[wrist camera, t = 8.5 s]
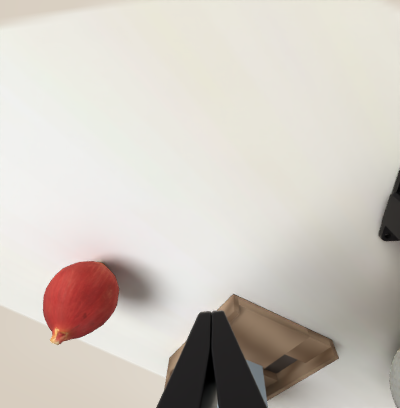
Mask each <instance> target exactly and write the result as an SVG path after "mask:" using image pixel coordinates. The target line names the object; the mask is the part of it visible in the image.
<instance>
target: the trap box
mask: <svg viewBox="0 0 400 408" xmlns="http://www.w3.org/2000/svg"><path fill="white" fill-rule="evenodd" d="M219 310H223V311H224V312H225V314H226V317H227V319H228V321H229V323H230V326H231V328H232V330H233V332H234V335H235V337H236V339H237V341H238V344H239V346H240V348H241V350H242V352H243V355H244V357H245V359H246V360H248V361H251V362H253V363H256V364H258V365H261V366H262V367H263V374H264V382H265V389H266V397H267V401H268V400H269V399H271V398H273V397H274V396H276V395H278V394H280V393H281V392H283V391H285V390H286V389H288V388H290V387H291V386H293V385H295V384H296V383H298V382H300V381H302V380H303V379H305V378H307V377H308V376H310V375H312V374H313V373H315V372H317V371H318V370H320V369H322V368H323V367H325V366H327V365H329V364H330V363H332V362H334V361H335V360H337V359H339V357H338V354H337V352H336V349H335V347H334V344H333V341H332V340H331V339H329V338H327V337H324V336H322V335H320V334H318V333H316V332H314V331H312V330H309V329H307V328H305V327H303V326H301V325H299V324H297V323H294V322H292V321H290V320H288V319H286V318H284V317H281V316H279V315H277V314H275V313H273V312H271V311H269V310H266V309H264V308H262V307H260V306H258V305H256V304H254V303H251V302H249V301H247V300H245V299H243V298H241V297H239V296H236V295H234V294H233V295H232V296H231V297H230V298H229V299H228V300H227V301H226V302H225V303H224V304H223V305H222V306H221V307H220V308H219V309H218V310H217V311H219ZM185 343H186V342H185ZM185 343H184V344H183V345H182V346H181V347H180V348H179V349H178V350H177V351H176V352H175V353H174V354H173V355H172V356H171V357H170V358H169V364H168V370H167V376H166V382H165V387H166V385H167V383H168V381H169V378H170V376H171V374H172V372H173V370H174V367H175V365H176V363H177V361H178V359H179V356H180V354H181V352H182V350H183V347H184V345H185ZM164 390H165V388H164Z"/></svg>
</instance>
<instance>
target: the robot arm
mask: <svg viewBox="0 0 400 408" xmlns="http://www.w3.org/2000/svg"><path fill="white" fill-rule="evenodd" d="M386 234H387V235H386ZM379 237H380V238H381V239H382V240H384V241H400V170H399V173H398V176H397V179H396V182H395V185H394V189H393V192H392V194H391V195H390V198H389V201H388V204H387V207H386V210H385V214H384V217H383V220H382V225H381V228H380V231H379ZM217 404H218V407H219V408H267V406H266V404H265V402H264V399H263V397H262V395H261V393H260V390H259V388H258V386H257V384H256V382H255V379H254V377H253V375H252V373H251V370H250V368H249V366H248V364H247V361H246V359H245V357H244V355H243V352H242V350H241V348H240V346H239V344H238V341H237V339H236V337H235V335H234V332H233V330H232V328H231V326H230V323H229V321H228V319H227V317H226V314H225V312H224V311H223V310H219V311H213V312H212V313H211V312H210V311H207V312H200V313H199V314H198V316H197V319H196V321H195V323H194V325H193V328H192V330H191V332H190V334H189V336H188V339H187V341H186V343H185V345H184V347H183V350H182V352H181V354H180V356H179V359H178V361H177V363H176V365H175V367H174V370H173V372H172V374H171V376H170V378H169V381H168V383H167V385H166V387H165V390H164V392H163V394H162V396H161V399H160V401H159V403H158V405H157V407H156V408H217Z"/></svg>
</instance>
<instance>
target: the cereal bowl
mask: <svg viewBox="0 0 400 408" xmlns="http://www.w3.org/2000/svg"><path fill="white" fill-rule="evenodd" d="M389 381H390V388H391V391H392V396H393V399H394V402H395V405H396V407H397V408H400V349H399V350H398V351H397V353H396V355H395V356H394V359H393V361H392V364H391V368H390V379H389Z"/></svg>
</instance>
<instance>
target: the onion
mask: <svg viewBox="0 0 400 408" xmlns="http://www.w3.org/2000/svg"><path fill="white" fill-rule="evenodd" d="M118 294H119V287H118V283H117V280H116V277H115V275H114V274H113V273H112V272H111V271H110V270H109V269H108V268H107V267H106V266H105V265H104V264H103V263H101V262H94V261H87V262H78V263H75V264H72V265H70V266H67V267H65V268H63V269H62V270H61V271H60V272H58V273H57V274H56V275H55V276H54V278H53V279H52V280H51V281H50V283H49V285H48V286H47V288H46V291H45V294H44V300H43V313H44V317H45V320H46V322H47V325H48V327H49V328H50V330H51V331H52V338H51V340H50V341H51V342H52V343H54V344H57V345H59V344H61V343H62V342H63V341H67V340H70V339H76V338H80V337H83V336H85V335H87V334H89V333H91V332H93V331H94V330H96V329H97V328H99V327H100V326H102V325H103V324H104V323H105V322H106V321H107V320H108V319H109V318H110V316H111V315H112V314H113V312H114V310H115V308H116V306H117V301H118Z"/></svg>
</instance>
